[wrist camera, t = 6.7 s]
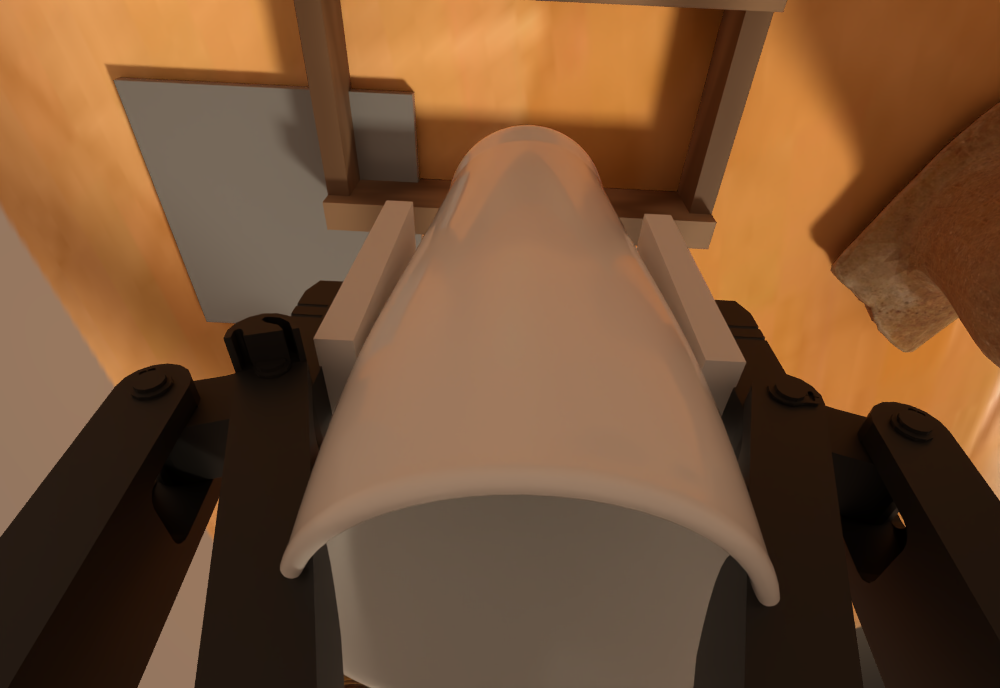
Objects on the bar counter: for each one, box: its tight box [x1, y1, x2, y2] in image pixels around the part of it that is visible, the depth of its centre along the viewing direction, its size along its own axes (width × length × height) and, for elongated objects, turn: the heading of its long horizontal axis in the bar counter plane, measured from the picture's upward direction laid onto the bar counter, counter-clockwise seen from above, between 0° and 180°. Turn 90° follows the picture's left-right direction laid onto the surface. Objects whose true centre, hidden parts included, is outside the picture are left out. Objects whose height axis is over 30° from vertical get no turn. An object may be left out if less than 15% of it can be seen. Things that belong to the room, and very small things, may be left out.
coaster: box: [114, 78, 423, 323], centre depth 33 cm, size 16×16×1 cm
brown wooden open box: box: [294, 0, 787, 249], centre depth 27 cm, size 21×13×4 cm, turn 88°
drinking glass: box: [280, 125, 780, 688], centre depth 13 cm, size 7×7×15 cm
